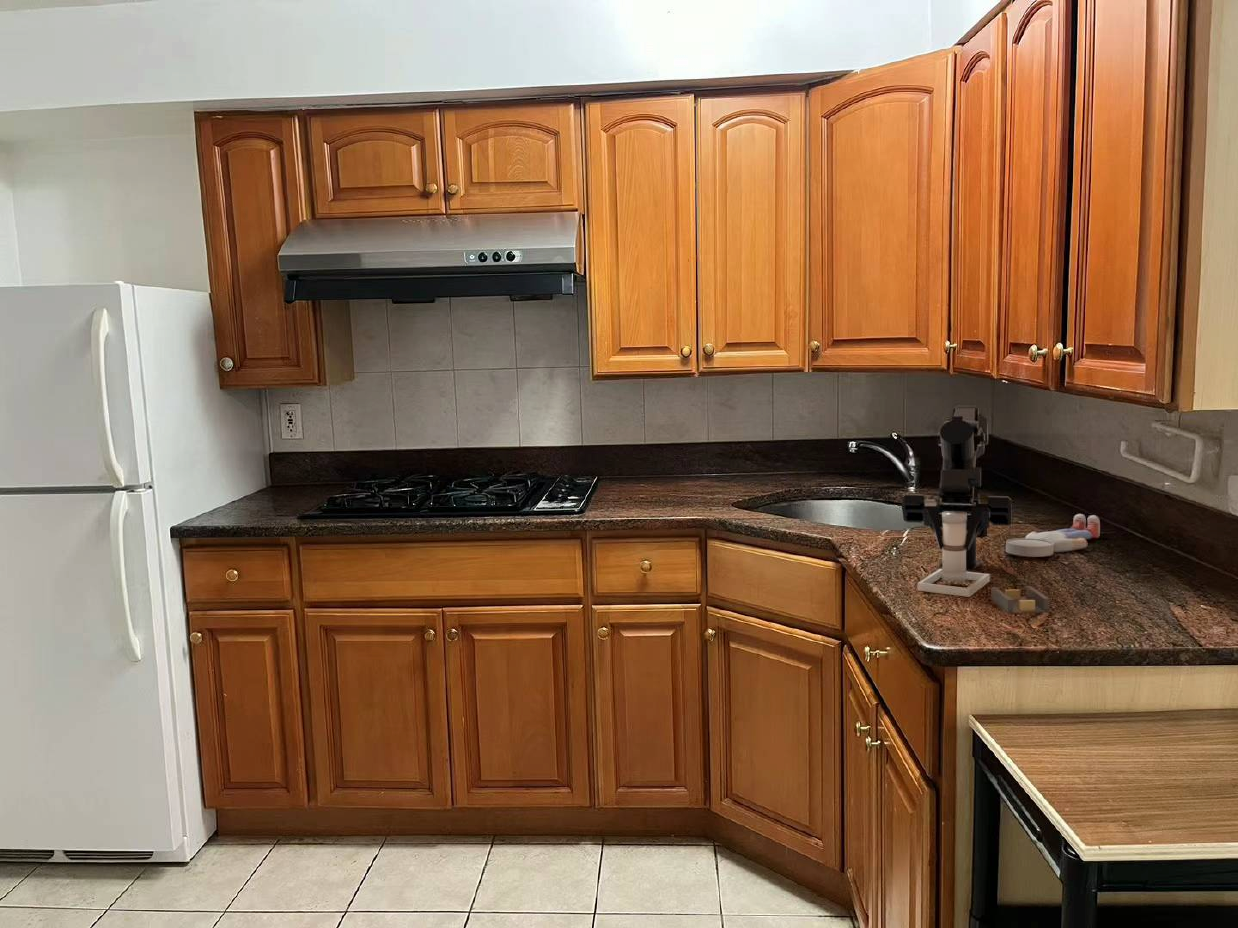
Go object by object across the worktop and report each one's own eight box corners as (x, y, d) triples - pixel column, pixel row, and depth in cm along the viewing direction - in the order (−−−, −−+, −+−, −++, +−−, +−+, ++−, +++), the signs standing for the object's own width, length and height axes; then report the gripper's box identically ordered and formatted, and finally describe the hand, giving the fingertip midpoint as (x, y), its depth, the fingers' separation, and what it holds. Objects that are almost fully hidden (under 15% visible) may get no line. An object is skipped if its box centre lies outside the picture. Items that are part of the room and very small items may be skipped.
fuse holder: (988, 604, 165) (989, 586, 164) (1030, 603, 164) (1030, 585, 164) (1007, 619, 156) (1007, 600, 155) (1051, 618, 155) (1052, 599, 155)
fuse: (952, 574, 176) (952, 509, 174) (971, 578, 173) (972, 512, 171) (936, 578, 174) (937, 513, 172) (956, 583, 170) (956, 516, 169)
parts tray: (940, 581, 181) (940, 568, 181) (989, 587, 176) (989, 574, 175) (917, 596, 171) (917, 583, 171) (969, 603, 166) (969, 589, 166)
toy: (1059, 511, 219) (989, 528, 200) (1116, 517, 209) (1049, 536, 190) (1058, 536, 219) (989, 555, 200) (1115, 543, 210) (1048, 564, 191)
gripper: (902, 450, 177) (895, 521, 169) (1012, 451, 170) (1010, 525, 162) (907, 486, 186) (900, 555, 177) (1012, 488, 178) (1010, 560, 170)
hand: (953, 548), depth 171 cm, fingers closed on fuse, 4 cm apart
